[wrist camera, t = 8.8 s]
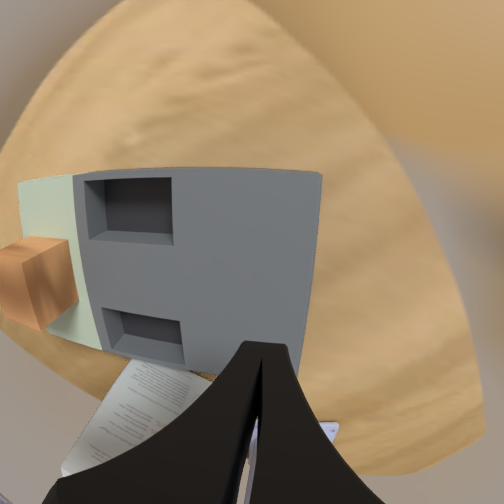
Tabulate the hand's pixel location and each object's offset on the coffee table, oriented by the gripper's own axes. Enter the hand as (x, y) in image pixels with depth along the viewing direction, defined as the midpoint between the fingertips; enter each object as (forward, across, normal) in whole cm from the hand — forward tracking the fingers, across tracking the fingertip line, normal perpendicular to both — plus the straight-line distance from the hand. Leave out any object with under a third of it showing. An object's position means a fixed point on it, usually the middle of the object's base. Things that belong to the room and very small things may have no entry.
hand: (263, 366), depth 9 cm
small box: (+10, +8, +12) cm, 18 cm away
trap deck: (+9, +8, +1) cm, 13 cm away
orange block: (+7, +16, +1) cm, 17 cm away
